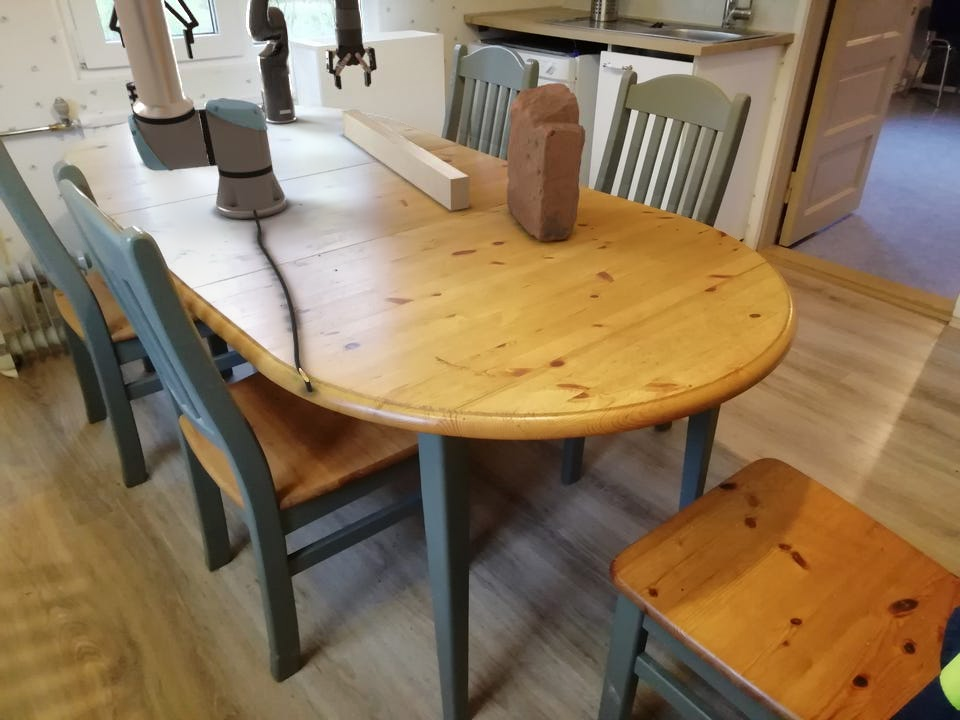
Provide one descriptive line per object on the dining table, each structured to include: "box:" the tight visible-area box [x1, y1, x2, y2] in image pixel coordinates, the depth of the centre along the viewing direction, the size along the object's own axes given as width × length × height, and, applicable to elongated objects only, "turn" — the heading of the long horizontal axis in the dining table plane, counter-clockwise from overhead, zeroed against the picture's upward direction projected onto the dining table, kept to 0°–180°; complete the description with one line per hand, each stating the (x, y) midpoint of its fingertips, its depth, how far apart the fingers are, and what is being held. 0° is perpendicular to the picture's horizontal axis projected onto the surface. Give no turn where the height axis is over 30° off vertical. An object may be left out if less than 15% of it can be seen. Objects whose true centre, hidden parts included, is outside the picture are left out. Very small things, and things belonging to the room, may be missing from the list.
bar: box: [341, 108, 470, 212], centre depth 184 cm, size 73×5×7 cm, turn 29°
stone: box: [506, 82, 586, 242], centre depth 144 cm, size 22×11×28 cm, turn 18°
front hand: (162, 60), depth 172 cm, fingers open, 13 cm apart
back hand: (353, 87), depth 200 cm, fingers open, 8 cm apart
